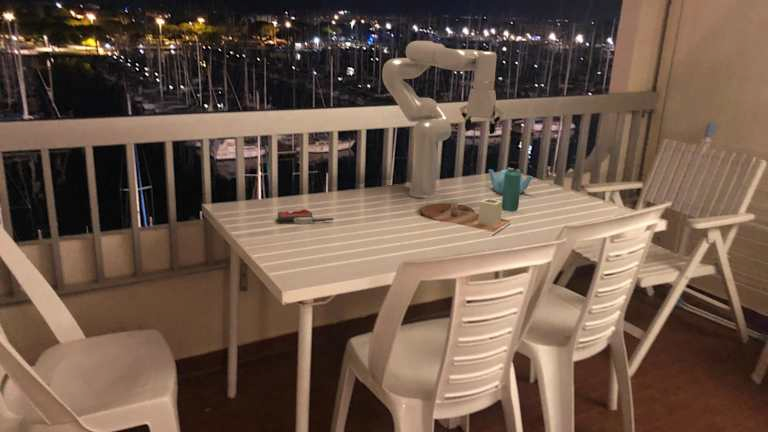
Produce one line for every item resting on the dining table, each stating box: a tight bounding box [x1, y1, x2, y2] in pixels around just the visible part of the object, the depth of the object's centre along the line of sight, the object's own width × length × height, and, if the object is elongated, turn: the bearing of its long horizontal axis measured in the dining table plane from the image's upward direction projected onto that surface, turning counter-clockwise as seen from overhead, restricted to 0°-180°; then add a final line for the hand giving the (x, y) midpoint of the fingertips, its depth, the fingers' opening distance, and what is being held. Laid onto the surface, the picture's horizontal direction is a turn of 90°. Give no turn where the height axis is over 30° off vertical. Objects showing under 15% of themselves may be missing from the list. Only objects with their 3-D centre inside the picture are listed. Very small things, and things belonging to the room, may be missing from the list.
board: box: [432, 201, 511, 237], centre depth 219 cm, size 24×16×6 cm, turn 57°
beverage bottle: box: [501, 161, 522, 212], centre depth 231 cm, size 6×7×20 cm
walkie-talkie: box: [275, 207, 334, 225], centre depth 215 cm, size 9×4×20 cm
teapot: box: [488, 166, 533, 195], centre depth 263 cm, size 15×15×11 cm
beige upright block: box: [478, 197, 503, 227], centre depth 214 cm, size 6×6×8 cm
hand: (479, 132), depth 228 cm, fingers open, 9 cm apart
